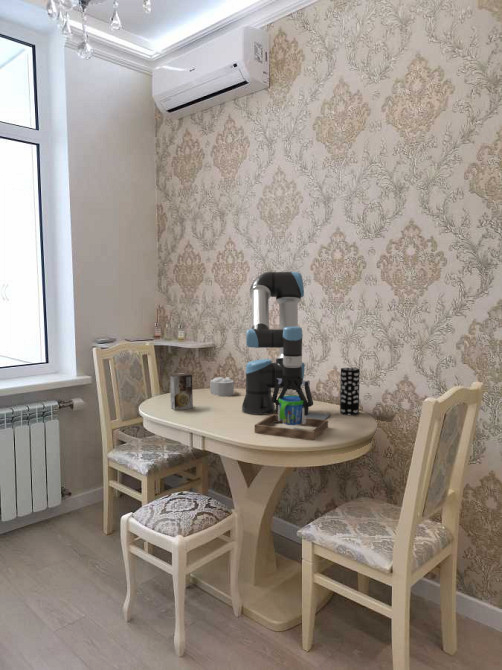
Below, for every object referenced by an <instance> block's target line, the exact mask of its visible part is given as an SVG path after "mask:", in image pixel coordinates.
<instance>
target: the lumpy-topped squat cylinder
mask: <svg viewBox="0 0 502 670" xmlns="http://www.w3.org/2000/svg"><path fill="white" fill-rule="evenodd" d="M234 382H235V381H234V380H233V379H231V378H230V377H229V376H226V377H225V378H224V377H223V376H218V377H214V378H213V379H211V380H210V389H209V390H210V393H211V394H210V393H209V394H210V395H212V394H214V395H213V396H216V395H218V396H217V397H232V396H231V395H233V396H234V394H235V383H234Z"/></svg>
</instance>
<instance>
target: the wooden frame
mask: <svg viewBox="0 0 502 670" xmlns="http://www.w3.org/2000/svg"><path fill="white" fill-rule="evenodd" d="M273 423H281V424H284V423H283V421H282V420H281V421H278V414H275V413H274V414H272V413H271V415H268V416H267V417H265V418H264V419H262V420H261V421H258V423H255V424H254V433H255V434H263V435H270V436H279V437H285V438H286V437H287V438H294V439H302V440H311V441H315V439H317V438H318V437H319V436H321V434H322V433H324V432H325V431H326V430H327V429H328V428H329V419H326V420H321V419H312V418H306V423H305V424H302V422H301V423H300V424H299V426H307V427H312V428H313V427H315V428H314V429H313V430H306V429H295V428H290V427H280V426H272V424H273Z"/></svg>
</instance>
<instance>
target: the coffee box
mask: <svg viewBox="0 0 502 670" xmlns="http://www.w3.org/2000/svg"><path fill="white" fill-rule="evenodd" d="M169 379H170V380H169V381H170V383H169V384H170V387H169V388H170V408H171V409H172V408H173V409H172V410H173V411H178V410H179V409H181V410H186V409H187V410H188V409H194V405H193V402H194V401H193V395H194V394H193V374H191V373H190V372H178V373H169Z"/></svg>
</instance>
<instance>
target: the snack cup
mask: <svg viewBox="0 0 502 670" xmlns="http://www.w3.org/2000/svg"><path fill="white" fill-rule="evenodd" d="M277 399H278V398H277ZM278 401H279V403H280V408H281V409H280V415H279V416H280V419H282V421H283V423H282V424H284V425H287V426H298V425H299V424H300V423H301V422H302V408H303V407H304V405H303V400H302V401H301V399H300V397H299V395H284V397H283V398H279V399H278ZM299 426H300V425H299Z"/></svg>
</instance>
